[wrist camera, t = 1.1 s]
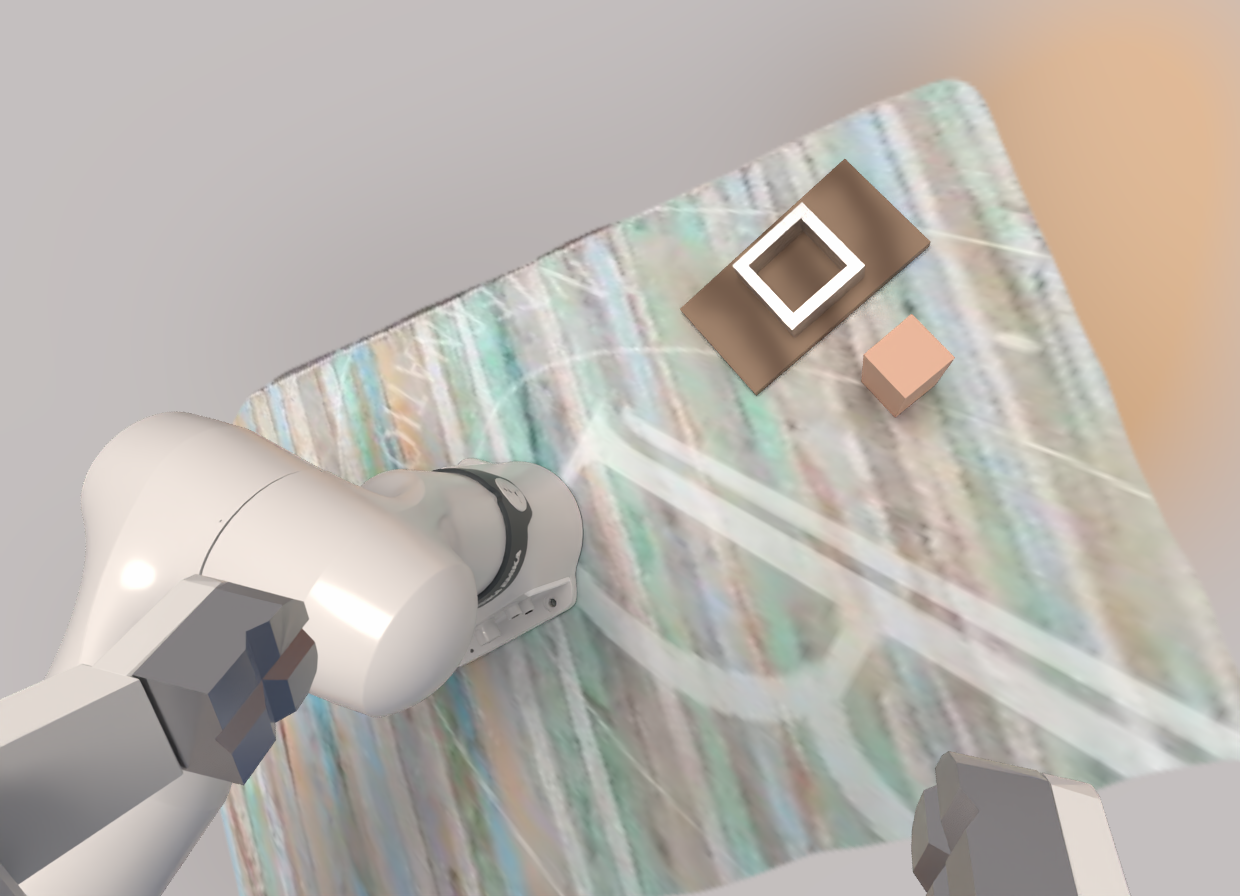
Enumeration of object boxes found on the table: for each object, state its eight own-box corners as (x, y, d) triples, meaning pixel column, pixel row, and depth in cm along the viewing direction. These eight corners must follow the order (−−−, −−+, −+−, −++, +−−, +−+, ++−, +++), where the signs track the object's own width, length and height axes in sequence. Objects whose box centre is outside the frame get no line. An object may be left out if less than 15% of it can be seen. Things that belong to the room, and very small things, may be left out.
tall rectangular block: (895, 417, 67) (905, 398, 55) (861, 381, 68) (863, 354, 56) (935, 384, 66) (955, 357, 54) (900, 348, 67) (911, 313, 55)
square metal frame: (794, 338, 69) (791, 329, 66) (737, 276, 71) (732, 265, 68) (864, 277, 68) (865, 265, 64) (804, 216, 70) (802, 201, 66)
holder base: (756, 395, 71) (754, 393, 70) (682, 312, 74) (679, 309, 72) (929, 246, 67) (930, 241, 66) (844, 164, 70) (844, 158, 69)
